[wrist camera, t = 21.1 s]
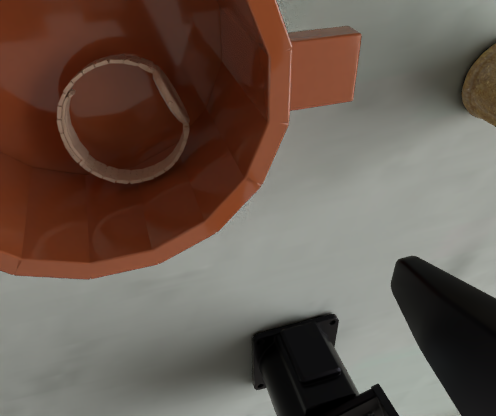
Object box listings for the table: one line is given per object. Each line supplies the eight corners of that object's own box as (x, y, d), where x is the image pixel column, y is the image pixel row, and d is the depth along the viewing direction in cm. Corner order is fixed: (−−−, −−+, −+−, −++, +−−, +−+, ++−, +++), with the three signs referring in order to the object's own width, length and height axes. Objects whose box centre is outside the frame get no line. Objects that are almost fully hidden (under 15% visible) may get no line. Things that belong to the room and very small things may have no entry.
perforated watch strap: (140, 31, 18) (203, 136, 21) (40, 90, 19) (112, 186, 21) (136, 39, 16) (208, 156, 18) (22, 107, 16) (105, 213, 19)
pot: (289, 148, 24) (346, 223, 19) (-101, 215, 20) (-156, 334, 15) (303, -163, 16) (405, -171, 11) (-327, -156, 12) (-595, -162, 7)
